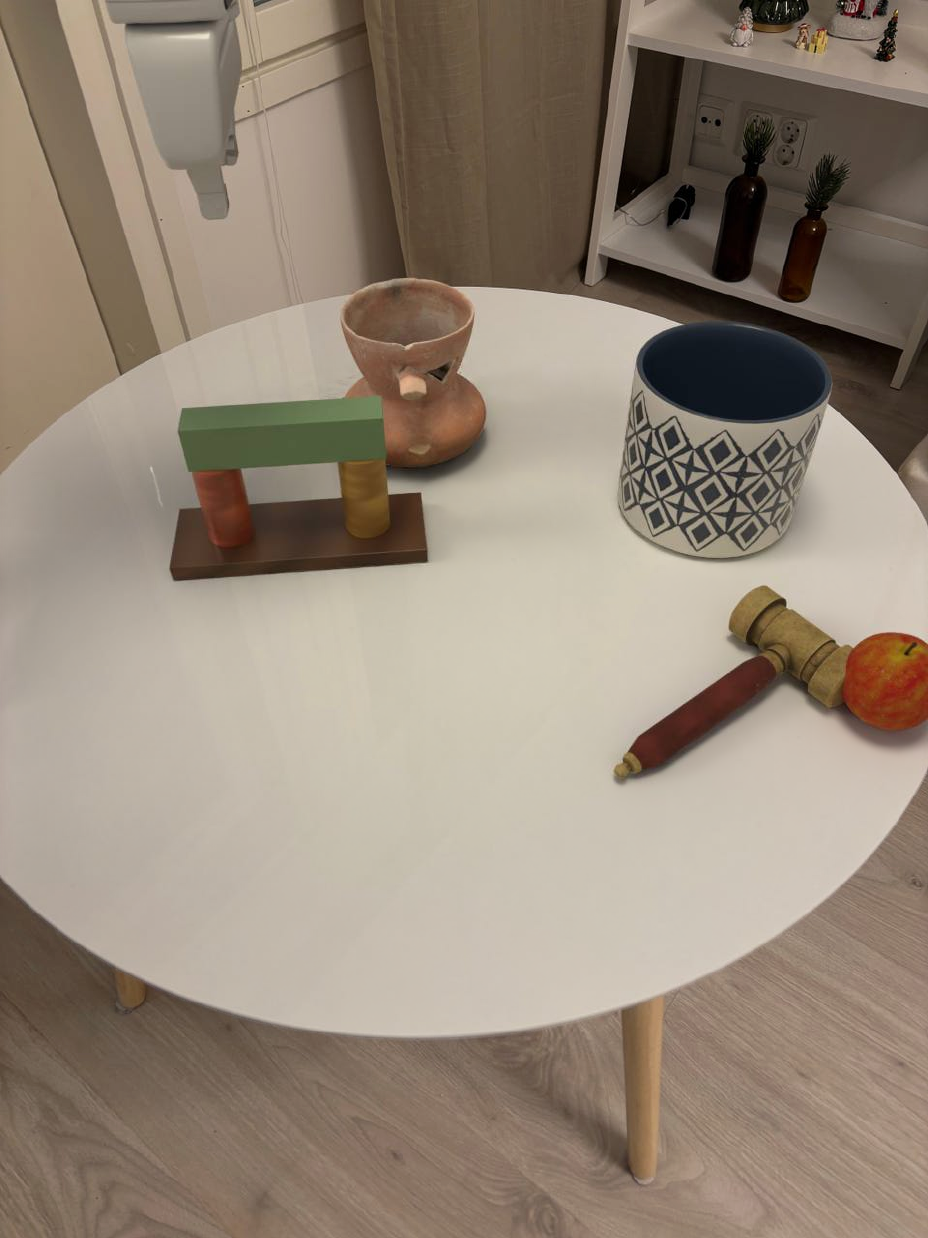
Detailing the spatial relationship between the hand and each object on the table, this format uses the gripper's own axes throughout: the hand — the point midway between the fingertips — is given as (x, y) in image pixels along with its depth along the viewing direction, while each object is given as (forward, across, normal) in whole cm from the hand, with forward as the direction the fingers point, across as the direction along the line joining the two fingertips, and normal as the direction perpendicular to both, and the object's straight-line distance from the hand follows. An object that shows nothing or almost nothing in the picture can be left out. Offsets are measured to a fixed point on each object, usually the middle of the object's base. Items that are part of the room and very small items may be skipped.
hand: (222, 187), depth 66 cm
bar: (+20, +5, +2) cm, 20 cm away
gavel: (+30, +28, +33) cm, 53 cm away
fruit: (+29, +29, +45) cm, 61 cm away
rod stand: (+29, +5, +2) cm, 30 cm away
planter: (+29, +4, +39) cm, 49 cm away
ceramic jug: (+29, -10, +13) cm, 34 cm away
